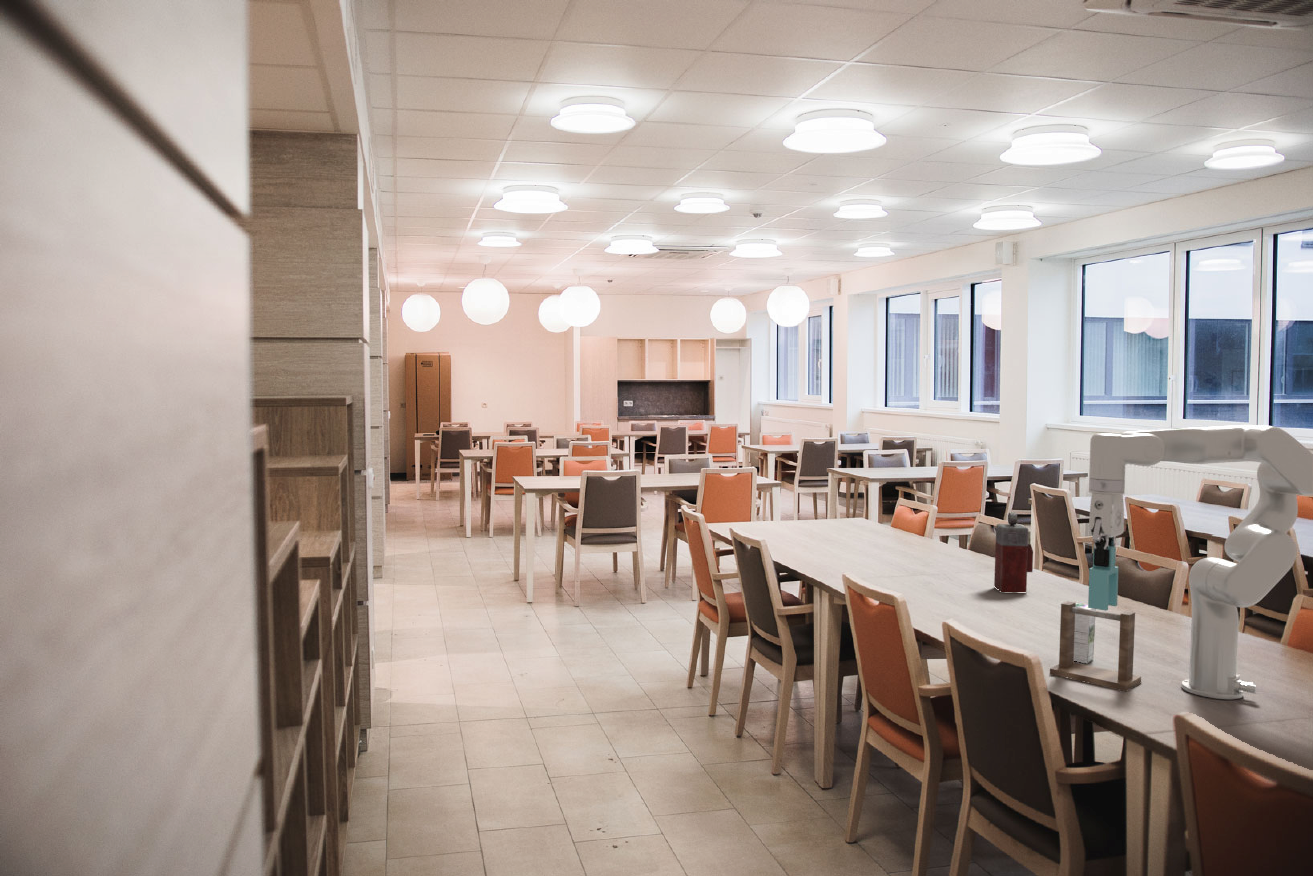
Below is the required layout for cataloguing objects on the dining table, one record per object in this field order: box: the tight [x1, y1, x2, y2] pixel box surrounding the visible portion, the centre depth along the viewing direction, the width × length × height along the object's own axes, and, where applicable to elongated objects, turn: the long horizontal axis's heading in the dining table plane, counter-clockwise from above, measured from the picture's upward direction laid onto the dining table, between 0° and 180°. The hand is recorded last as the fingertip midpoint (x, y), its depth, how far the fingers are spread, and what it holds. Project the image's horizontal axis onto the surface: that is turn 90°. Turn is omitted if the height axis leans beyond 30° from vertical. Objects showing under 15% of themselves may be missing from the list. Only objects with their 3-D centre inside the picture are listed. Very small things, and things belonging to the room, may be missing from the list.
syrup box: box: [1073, 602, 1097, 665], centre depth 247 cm, size 6×6×14 cm
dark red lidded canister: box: [993, 512, 1034, 593], centre depth 335 cm, size 9×11×28 cm
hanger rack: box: [1049, 601, 1142, 692], centre depth 231 cm, size 18×10×18 cm, turn 45°
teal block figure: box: [1087, 545, 1119, 612], centre depth 220 cm, size 4×7×14 cm, turn 136°
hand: (1104, 564), depth 219 cm, fingers closed on teal block figure, 3 cm apart
